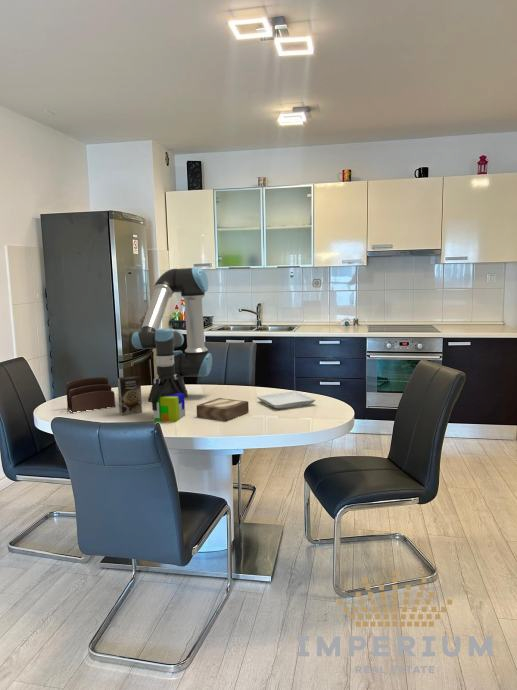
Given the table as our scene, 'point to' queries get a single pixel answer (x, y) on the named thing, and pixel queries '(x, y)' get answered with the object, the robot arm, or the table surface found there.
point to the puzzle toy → (171, 407)
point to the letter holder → (89, 394)
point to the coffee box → (129, 395)
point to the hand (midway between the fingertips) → (168, 414)
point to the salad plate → (286, 400)
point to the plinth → (222, 409)
